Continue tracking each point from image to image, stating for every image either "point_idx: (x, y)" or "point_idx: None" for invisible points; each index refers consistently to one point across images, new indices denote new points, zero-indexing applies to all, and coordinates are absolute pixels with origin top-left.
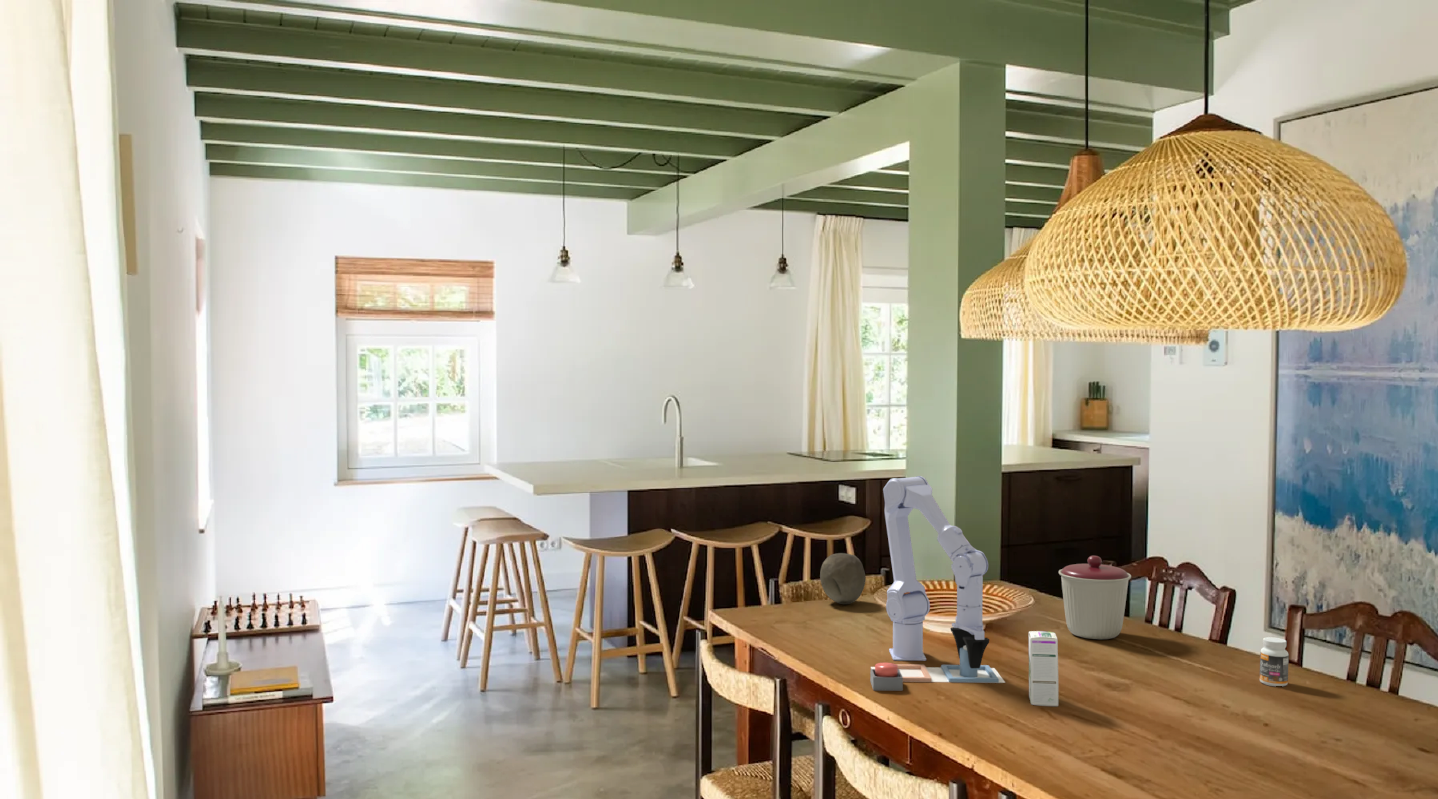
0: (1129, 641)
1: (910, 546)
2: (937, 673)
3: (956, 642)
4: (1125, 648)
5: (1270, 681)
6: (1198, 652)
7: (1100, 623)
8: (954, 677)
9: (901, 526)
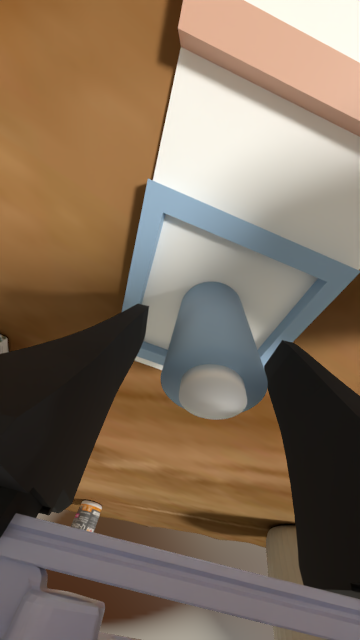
0: (252, 528)
1: None
2: (296, 198)
3: (355, 403)
4: (231, 517)
5: (82, 505)
6: (189, 524)
7: (276, 561)
8: (157, 217)
9: None
